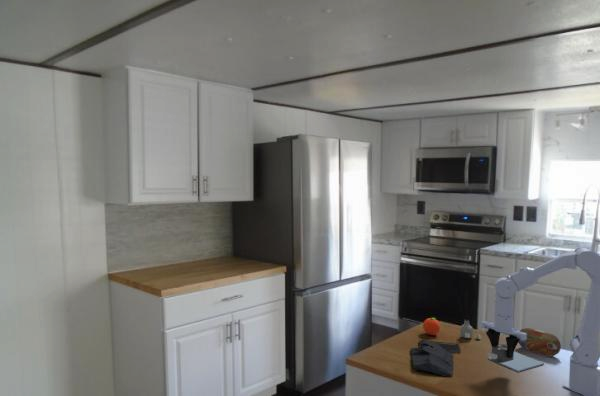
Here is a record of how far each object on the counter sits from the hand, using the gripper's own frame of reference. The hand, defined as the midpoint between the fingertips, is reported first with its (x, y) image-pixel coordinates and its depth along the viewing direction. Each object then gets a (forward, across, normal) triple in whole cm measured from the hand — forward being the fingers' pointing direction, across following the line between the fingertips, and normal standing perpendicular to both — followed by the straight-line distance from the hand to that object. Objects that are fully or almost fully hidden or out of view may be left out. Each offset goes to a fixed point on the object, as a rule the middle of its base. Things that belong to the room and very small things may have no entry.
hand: (502, 354), depth 143 cm
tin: (+7, +3, -31) cm, 32 cm away
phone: (+7, +27, -3) cm, 28 cm away
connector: (+1, 0, 0) cm, 1 cm away
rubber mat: (+7, +3, -14) cm, 16 cm away
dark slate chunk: (+8, +20, +11) cm, 24 cm away
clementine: (+7, +38, -12) cm, 40 cm away
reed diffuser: (+7, +27, -22) cm, 36 cm away
